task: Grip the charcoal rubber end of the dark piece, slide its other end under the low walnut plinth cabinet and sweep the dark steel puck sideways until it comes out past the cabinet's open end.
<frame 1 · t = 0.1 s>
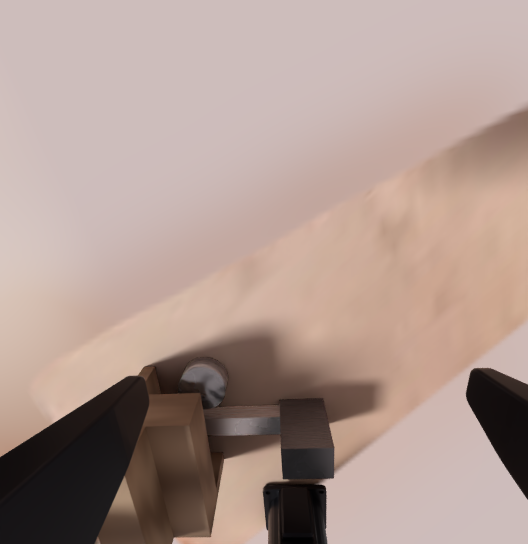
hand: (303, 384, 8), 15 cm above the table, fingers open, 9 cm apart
steel token: (206, 374, 26), on the table
plinth cabinet: (186, 416, 27), on the table
dark piece: (301, 412, 26), on the table
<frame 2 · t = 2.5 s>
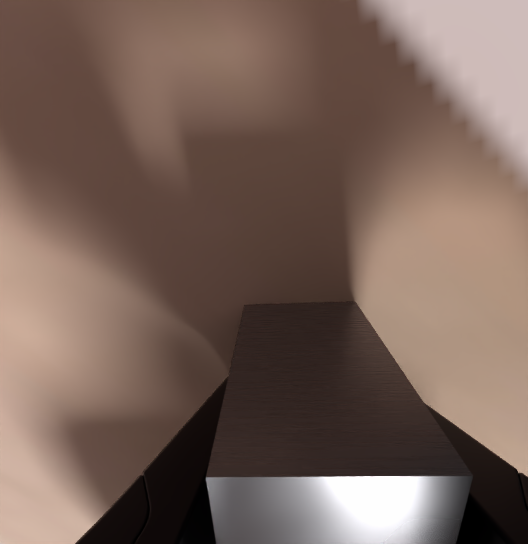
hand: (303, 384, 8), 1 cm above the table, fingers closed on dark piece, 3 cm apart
dark piece: (300, 361, 9), on the table, touching gripper
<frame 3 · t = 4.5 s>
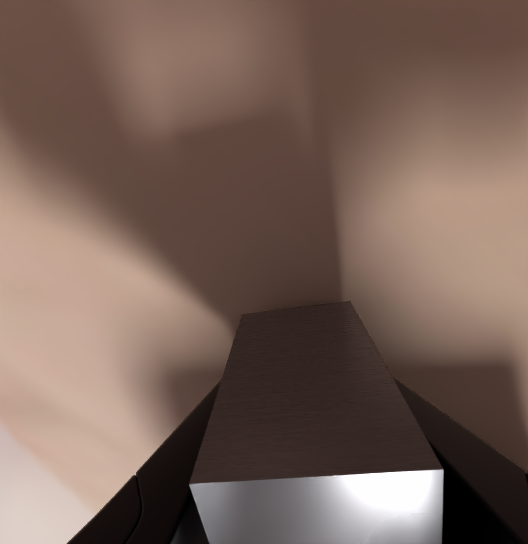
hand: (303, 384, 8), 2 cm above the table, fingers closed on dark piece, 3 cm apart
dark piece: (303, 365, 9), point 1 cm above the table, touching gripper, steel token
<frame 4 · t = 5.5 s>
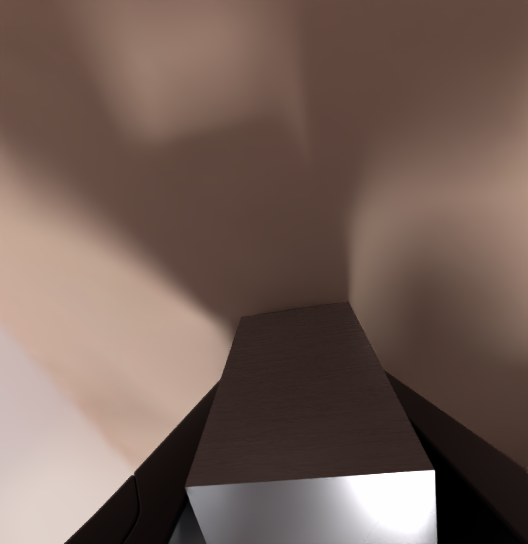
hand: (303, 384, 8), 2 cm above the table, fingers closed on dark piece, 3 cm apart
dark piece: (304, 366, 9), on the table, touching gripper
when the fingers open (2 cm above the table, at t = 6.5 s): dark piece stays where it is, on the table.
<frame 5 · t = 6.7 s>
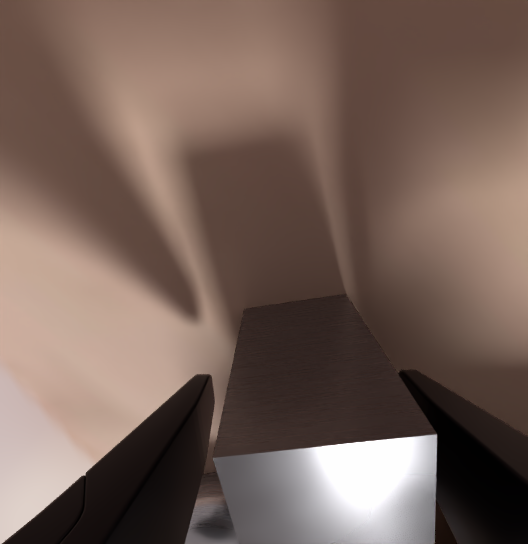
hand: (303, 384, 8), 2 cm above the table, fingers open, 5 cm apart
steel token: (223, 503, 12), on the table
dark piece: (302, 356, 9), on the table
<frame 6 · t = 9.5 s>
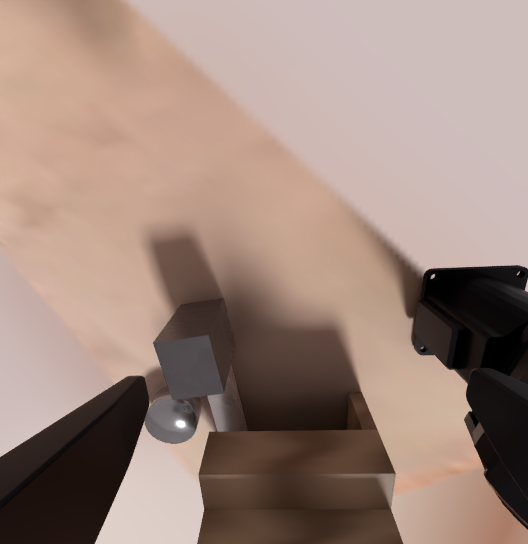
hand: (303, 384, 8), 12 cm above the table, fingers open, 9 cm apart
steel token: (178, 404, 24), on the table
plinth cabinet: (290, 422, 24), on the table
dark piece: (208, 325, 21), on the table
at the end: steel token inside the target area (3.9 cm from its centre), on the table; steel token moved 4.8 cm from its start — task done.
